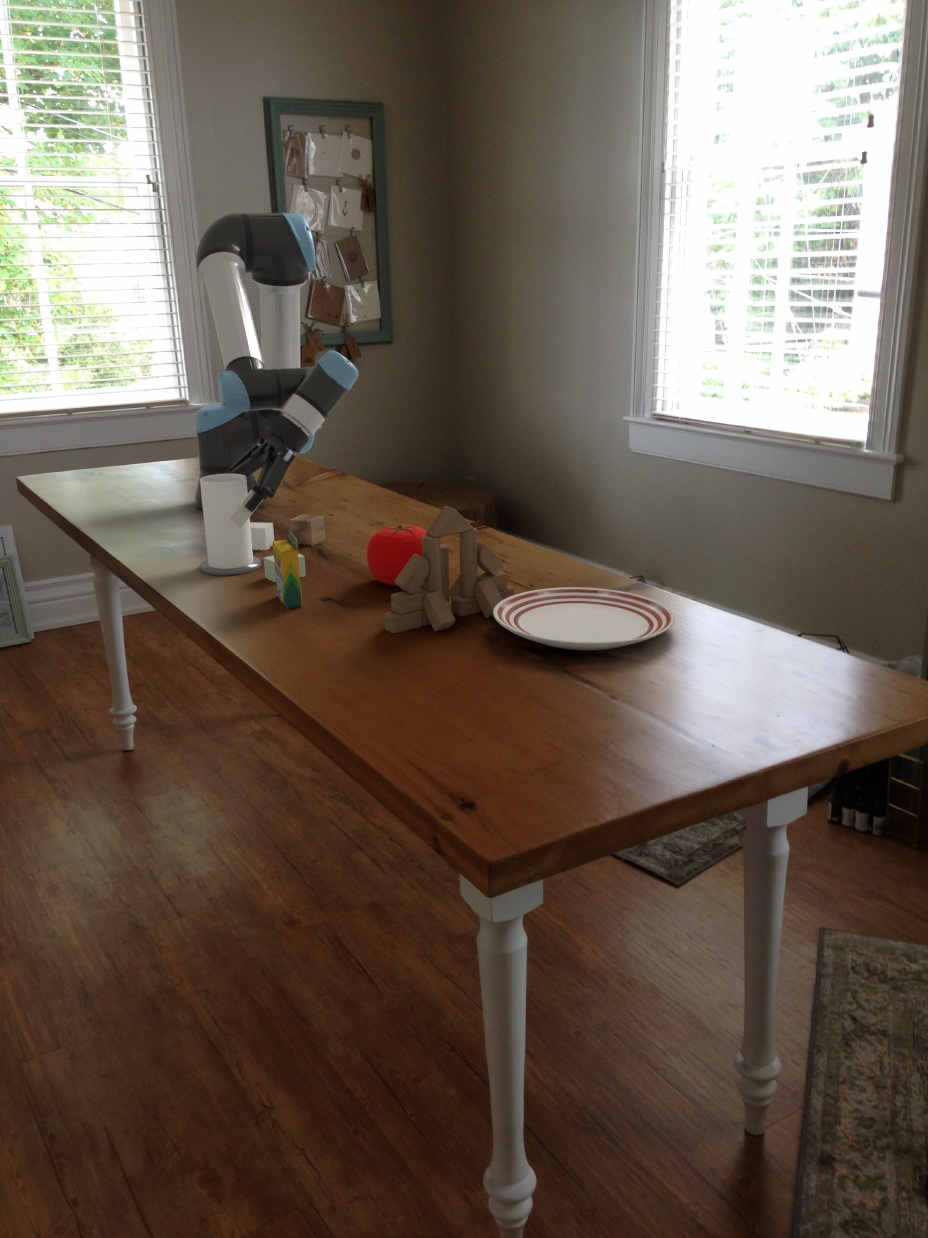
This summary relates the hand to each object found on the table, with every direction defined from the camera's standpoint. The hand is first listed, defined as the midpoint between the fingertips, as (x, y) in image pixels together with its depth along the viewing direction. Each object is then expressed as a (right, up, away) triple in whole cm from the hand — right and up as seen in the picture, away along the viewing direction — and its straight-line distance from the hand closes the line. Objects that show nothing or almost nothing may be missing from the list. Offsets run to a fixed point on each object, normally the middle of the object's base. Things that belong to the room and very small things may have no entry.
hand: (223, 515), depth 191 cm
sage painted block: (+12, -12, -3) cm, 17 cm away
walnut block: (+13, -3, +20) cm, 24 cm away
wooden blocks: (+43, -19, -24) cm, 52 cm away
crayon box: (+15, -16, -16) cm, 27 cm away
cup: (+1, -9, +4) cm, 9 cm away
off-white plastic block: (+3, -5, +17) cm, 18 cm away
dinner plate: (+62, -21, -31) cm, 73 cm away
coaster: (+1, -9, +4) cm, 10 cm away
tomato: (+33, -13, -7) cm, 36 cm away
